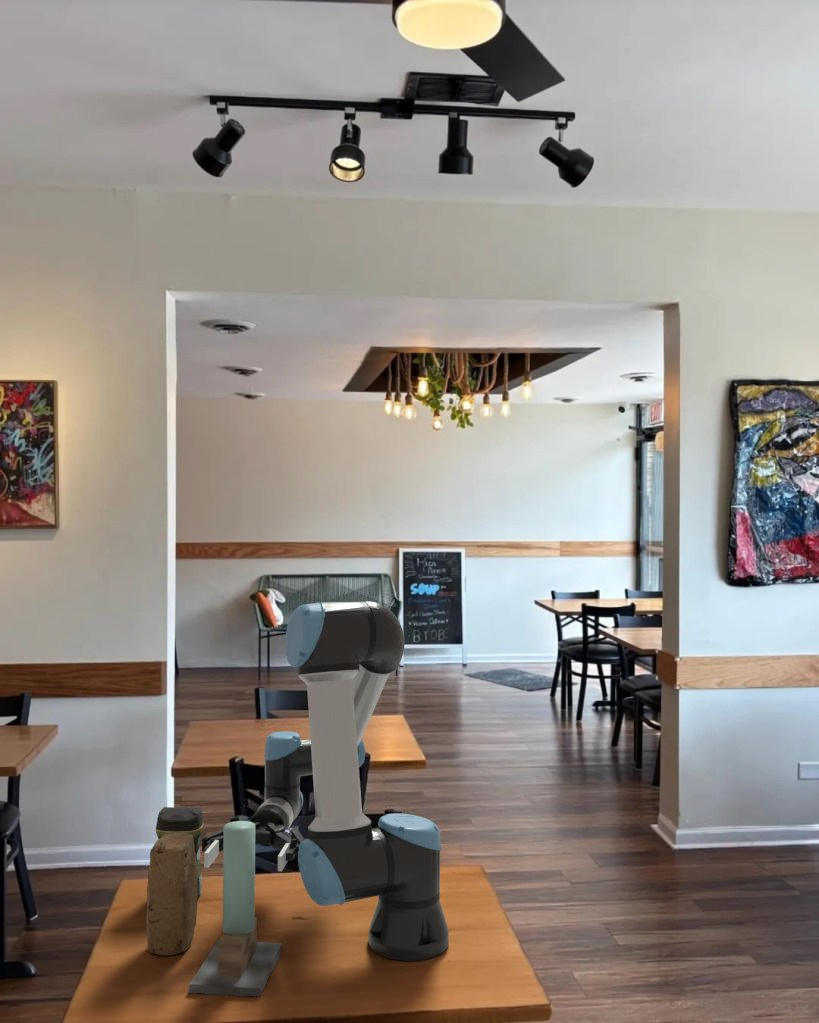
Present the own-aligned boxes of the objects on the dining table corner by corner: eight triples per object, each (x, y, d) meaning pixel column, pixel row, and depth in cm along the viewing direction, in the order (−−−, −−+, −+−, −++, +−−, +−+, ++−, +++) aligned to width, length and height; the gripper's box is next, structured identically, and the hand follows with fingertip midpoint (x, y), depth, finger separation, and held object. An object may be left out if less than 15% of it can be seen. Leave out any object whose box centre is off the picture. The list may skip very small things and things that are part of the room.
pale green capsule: (259, 923, 160) (260, 822, 160) (245, 937, 155) (246, 832, 155) (231, 919, 162) (232, 819, 162) (216, 933, 156) (218, 829, 157)
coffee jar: (150, 904, 185) (151, 814, 185) (160, 888, 193) (161, 802, 193) (198, 904, 185) (199, 814, 186) (205, 888, 193) (206, 802, 194)
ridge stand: (218, 947, 167) (218, 907, 167) (281, 951, 166) (282, 910, 166) (189, 993, 151) (189, 948, 151) (259, 997, 150) (259, 952, 150)
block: (182, 959, 162) (183, 848, 162) (142, 957, 163) (143, 847, 163) (201, 932, 173) (202, 828, 173) (163, 930, 174) (164, 826, 174)
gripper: (331, 843, 182) (310, 886, 161) (211, 838, 185) (175, 879, 163) (331, 806, 182) (311, 844, 161) (211, 801, 185) (176, 838, 163)
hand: (242, 862), depth 162 cm, fingers open, 13 cm apart
